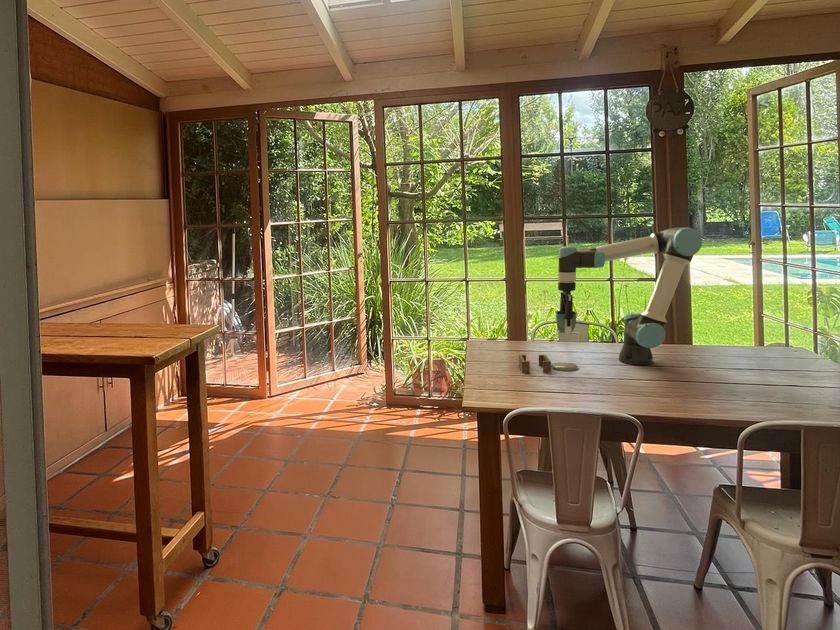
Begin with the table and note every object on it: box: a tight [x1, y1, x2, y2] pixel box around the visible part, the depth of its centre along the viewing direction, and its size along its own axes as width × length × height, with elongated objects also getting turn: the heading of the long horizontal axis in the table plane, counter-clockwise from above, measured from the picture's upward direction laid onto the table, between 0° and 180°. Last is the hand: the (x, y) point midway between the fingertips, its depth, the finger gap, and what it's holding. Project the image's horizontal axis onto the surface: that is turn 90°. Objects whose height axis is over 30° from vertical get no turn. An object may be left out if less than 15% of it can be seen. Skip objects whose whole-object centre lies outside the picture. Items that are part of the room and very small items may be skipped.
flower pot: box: [555, 310, 578, 334], centre depth 240 cm, size 9×9×9 cm
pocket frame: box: [518, 354, 552, 374], centre depth 242 cm, size 13×13×5 cm
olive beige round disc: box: [551, 362, 579, 372], centre depth 244 cm, size 12×12×1 cm
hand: (565, 331), depth 241 cm, fingers closed on flower pot, 9 cm apart
